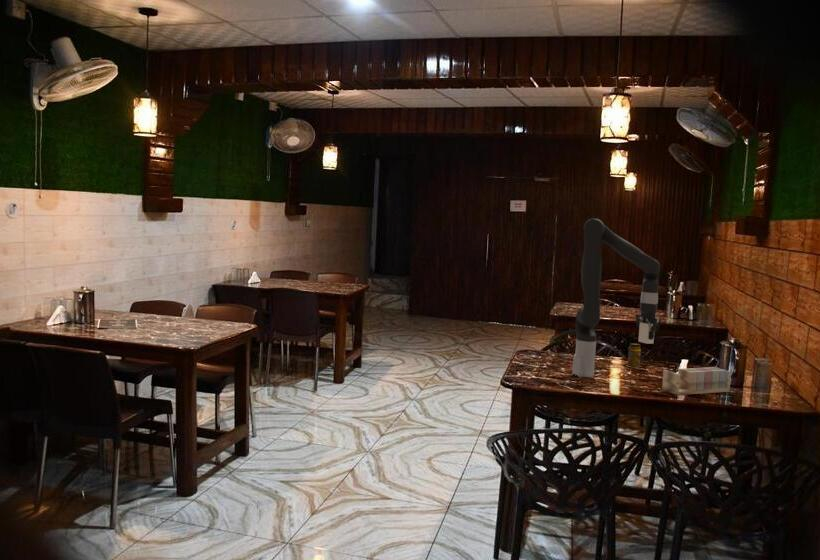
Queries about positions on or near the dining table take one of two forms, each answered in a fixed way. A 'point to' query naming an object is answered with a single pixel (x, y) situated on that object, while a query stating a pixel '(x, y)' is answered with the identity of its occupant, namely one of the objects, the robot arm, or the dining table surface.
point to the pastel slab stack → (696, 381)
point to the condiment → (634, 355)
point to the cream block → (644, 334)
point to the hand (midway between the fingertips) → (646, 338)
